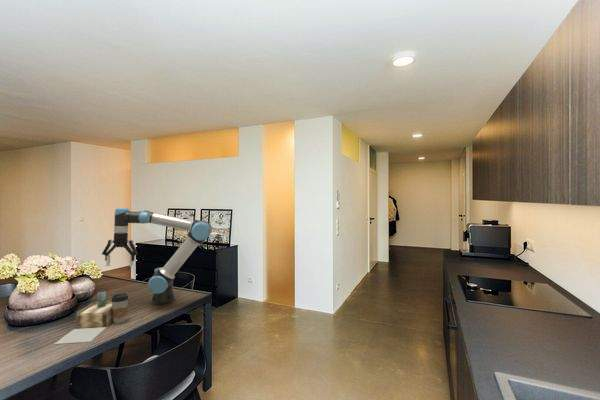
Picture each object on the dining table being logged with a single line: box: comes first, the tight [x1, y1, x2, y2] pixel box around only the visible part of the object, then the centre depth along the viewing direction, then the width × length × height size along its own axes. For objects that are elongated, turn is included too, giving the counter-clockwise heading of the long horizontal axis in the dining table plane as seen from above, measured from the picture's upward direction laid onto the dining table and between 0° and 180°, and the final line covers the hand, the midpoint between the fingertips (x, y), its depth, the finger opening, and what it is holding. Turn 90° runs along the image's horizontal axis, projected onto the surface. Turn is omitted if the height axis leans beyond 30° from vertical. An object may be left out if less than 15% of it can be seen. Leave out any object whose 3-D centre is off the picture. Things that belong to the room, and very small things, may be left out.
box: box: [75, 301, 114, 329], centre depth 164 cm, size 15×16×8 cm
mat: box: [53, 326, 108, 345], centre depth 148 cm, size 16×16×1 cm
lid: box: [80, 291, 112, 315], centre depth 164 cm, size 12×14×9 cm
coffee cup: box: [110, 293, 129, 325], centre depth 165 cm, size 8×8×15 cm
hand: (119, 266), depth 181 cm, fingers open, 13 cm apart
